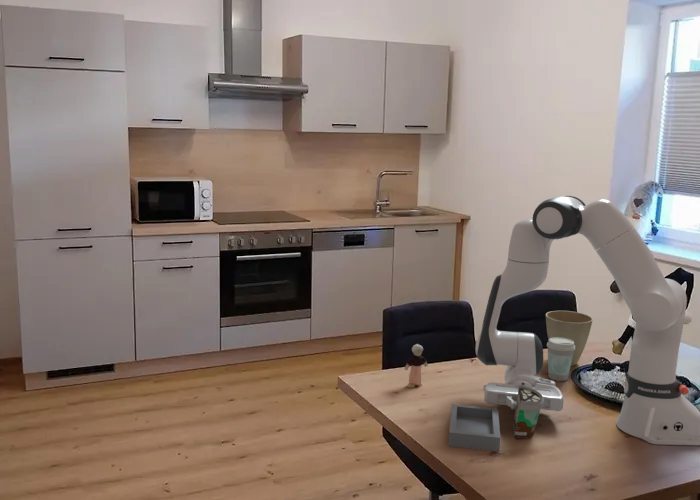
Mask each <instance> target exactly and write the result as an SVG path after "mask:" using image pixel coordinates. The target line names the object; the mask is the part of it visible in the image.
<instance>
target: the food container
mask: <svg viewBox="0 0 700 500" xmlns="http://www.w3.org/2000/svg"><path fill="white" fill-rule="evenodd" d="M543 407H544V400H543V396H542V395H541V394H540V393H539V392H538V391H536V390H534V389H531V388H529V387H525V386H521V385H519V389H518V396H517V410H515V409H514V417H513V422H512V424H513V425H512V426H513V437H514V438H517V439H528V438H529V439H530V438H532V437H533V436H534V435H535V431H536V430H535V429H536V428H537V427H536V426H537V424H538V419H539V416H540V412H541V410H543V409H542V408H543Z"/></svg>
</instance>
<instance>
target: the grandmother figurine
mask: <svg viewBox="0 0 700 500" xmlns="http://www.w3.org/2000/svg"><path fill="white" fill-rule="evenodd" d="M423 351H424V348H423V346H422V345H420V344H419V343H416V344H414V345H413V346H412V347H411V352H412V354H413V355H412V356H411V357H410V358H409V359H408V361H407V362H406V364H405V367H404V370H405V371H408V370H409V367H410V371H409V375H408V384H407V386H408V388H416V387H422V386H423V383H422V364H423V366H424V367H428V362H427V359H426V357H424V356H423V355H422V353H423Z"/></svg>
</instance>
